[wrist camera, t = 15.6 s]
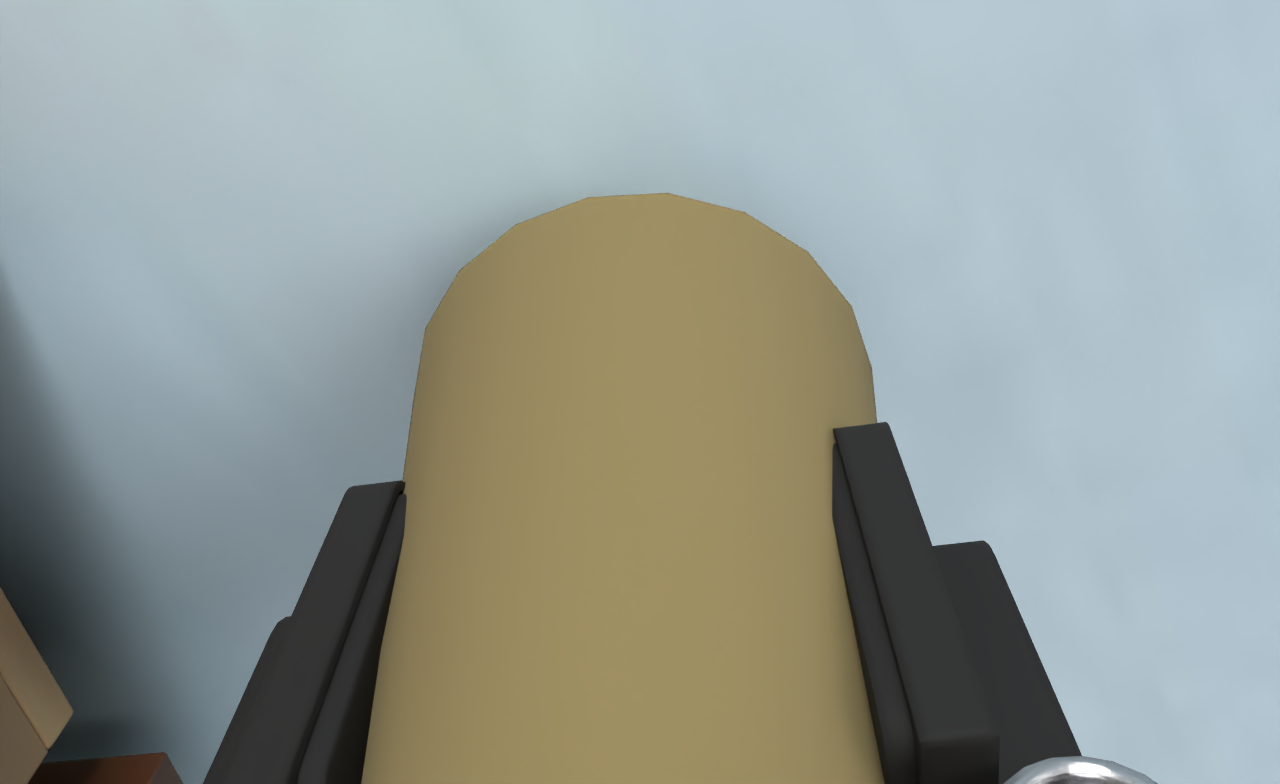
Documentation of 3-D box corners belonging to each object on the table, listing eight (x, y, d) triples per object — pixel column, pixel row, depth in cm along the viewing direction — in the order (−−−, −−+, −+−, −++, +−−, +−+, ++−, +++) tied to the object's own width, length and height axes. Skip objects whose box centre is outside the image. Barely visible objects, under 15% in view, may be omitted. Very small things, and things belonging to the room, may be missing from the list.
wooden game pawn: (843, 143, 12) (1586, 1585, 2) (894, 547, 15) (1313, 1897, 5) (347, 248, 13) (-588, 1662, 3) (491, 613, 16) (234, 1901, 6)
